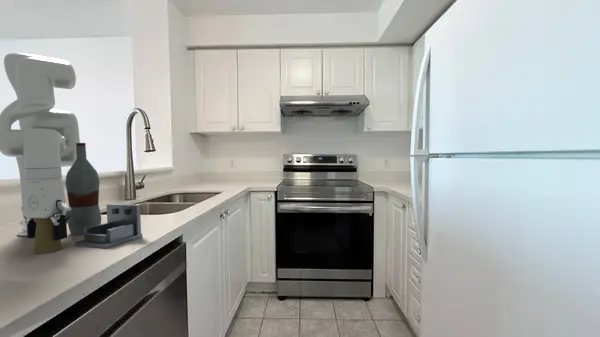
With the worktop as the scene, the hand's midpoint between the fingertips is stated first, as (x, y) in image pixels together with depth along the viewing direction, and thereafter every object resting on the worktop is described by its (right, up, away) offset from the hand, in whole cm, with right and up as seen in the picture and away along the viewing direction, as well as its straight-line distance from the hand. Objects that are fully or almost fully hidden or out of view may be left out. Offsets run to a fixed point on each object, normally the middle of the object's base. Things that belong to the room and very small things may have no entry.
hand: (47, 238), depth 81 cm
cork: (0, -3, 0) cm, 3 cm away
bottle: (-4, -3, +20) cm, 21 cm away
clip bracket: (+12, -3, +8) cm, 15 cm away
